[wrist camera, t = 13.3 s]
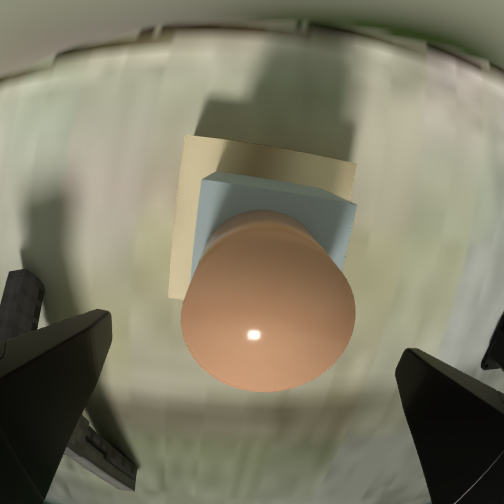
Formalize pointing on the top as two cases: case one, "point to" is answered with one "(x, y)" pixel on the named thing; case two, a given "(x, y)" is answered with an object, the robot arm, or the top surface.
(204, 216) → the blue-grey cube
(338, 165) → the beech slab
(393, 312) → the top surface
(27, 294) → the handgun
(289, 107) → the top surface
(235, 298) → the orange-tan rounded lump
